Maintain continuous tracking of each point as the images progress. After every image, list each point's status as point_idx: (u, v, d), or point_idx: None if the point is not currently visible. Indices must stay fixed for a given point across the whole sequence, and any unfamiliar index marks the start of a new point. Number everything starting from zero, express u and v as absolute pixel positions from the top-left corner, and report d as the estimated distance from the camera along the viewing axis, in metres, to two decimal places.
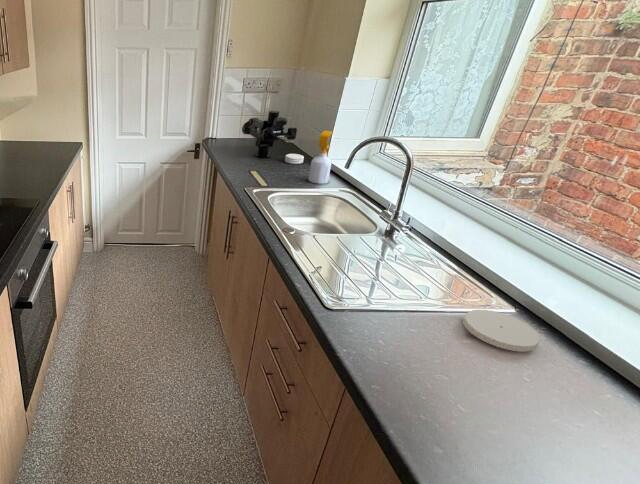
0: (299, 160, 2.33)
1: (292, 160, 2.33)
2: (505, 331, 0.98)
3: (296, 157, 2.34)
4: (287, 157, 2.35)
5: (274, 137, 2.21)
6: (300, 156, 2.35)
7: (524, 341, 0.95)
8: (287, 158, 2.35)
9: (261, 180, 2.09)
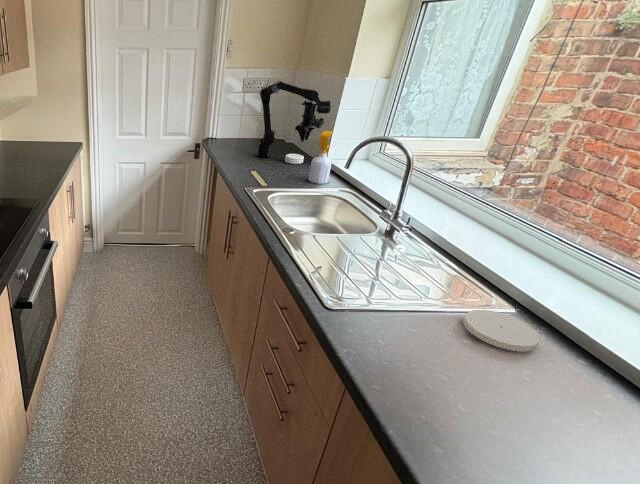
0: (299, 160, 2.33)
1: (292, 160, 2.33)
2: (505, 331, 0.98)
3: (296, 157, 2.34)
4: (287, 157, 2.35)
5: (302, 138, 2.37)
6: (300, 156, 2.35)
7: (524, 341, 0.95)
8: (287, 158, 2.35)
9: (261, 180, 2.09)
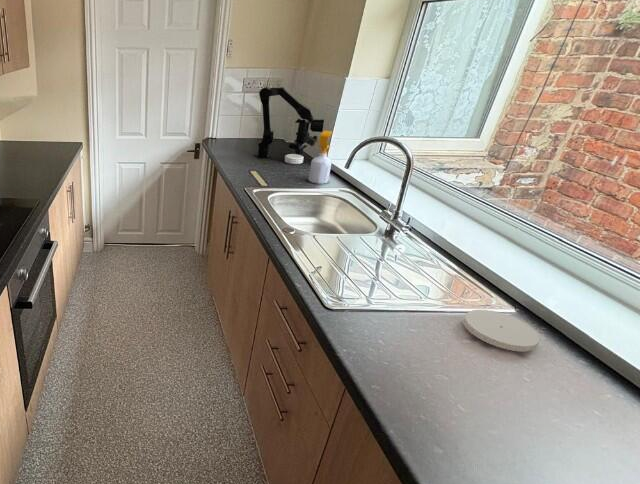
0: (299, 160, 2.32)
1: (292, 160, 2.33)
2: (505, 331, 0.98)
3: (296, 157, 2.34)
4: (287, 157, 2.35)
5: (298, 154, 2.40)
6: (300, 156, 2.35)
7: (524, 341, 0.95)
8: (287, 158, 2.35)
9: (261, 180, 2.09)
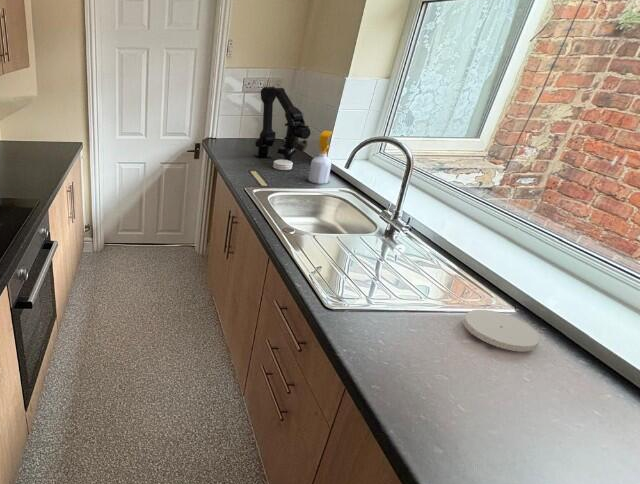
0: (287, 166, 2.22)
1: (280, 166, 2.23)
2: (505, 331, 0.98)
3: (285, 163, 2.24)
4: (275, 163, 2.25)
5: (287, 159, 2.30)
6: (289, 162, 2.25)
7: (524, 341, 0.95)
8: (275, 164, 2.25)
9: (261, 180, 2.09)
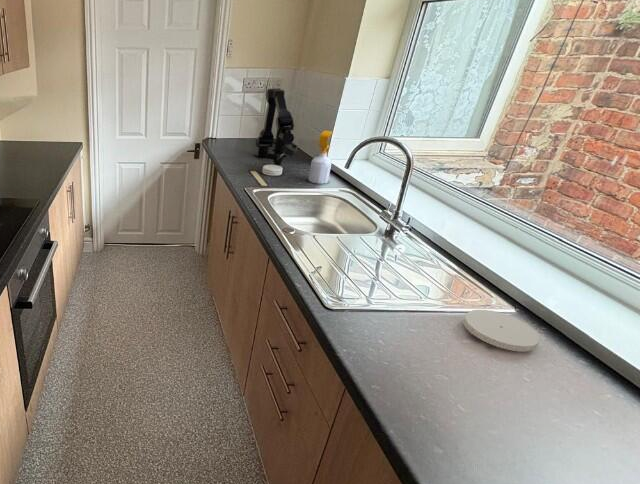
0: (277, 172, 2.14)
1: (270, 172, 2.15)
2: (505, 331, 0.98)
3: (274, 168, 2.15)
4: (264, 168, 2.16)
5: (277, 164, 2.21)
6: (278, 167, 2.17)
7: (524, 341, 0.95)
8: (264, 169, 2.17)
9: (261, 180, 2.09)
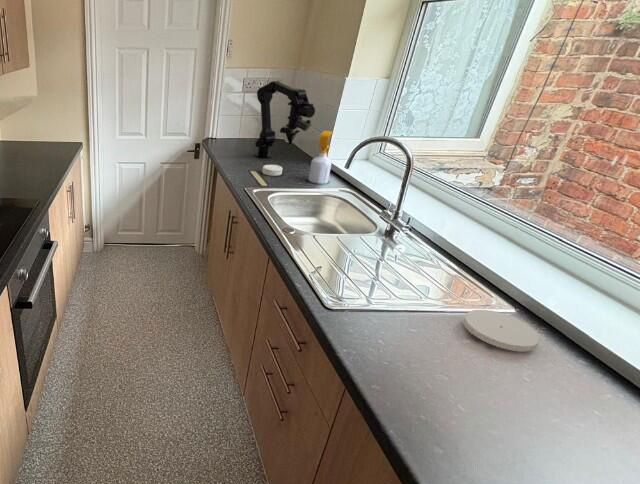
0: (277, 172, 2.14)
1: (270, 172, 2.15)
2: (505, 331, 0.98)
3: (274, 168, 2.15)
4: (264, 168, 2.16)
5: (290, 140, 2.26)
6: (278, 167, 2.17)
7: (524, 341, 0.95)
8: (264, 169, 2.17)
9: (261, 180, 2.09)
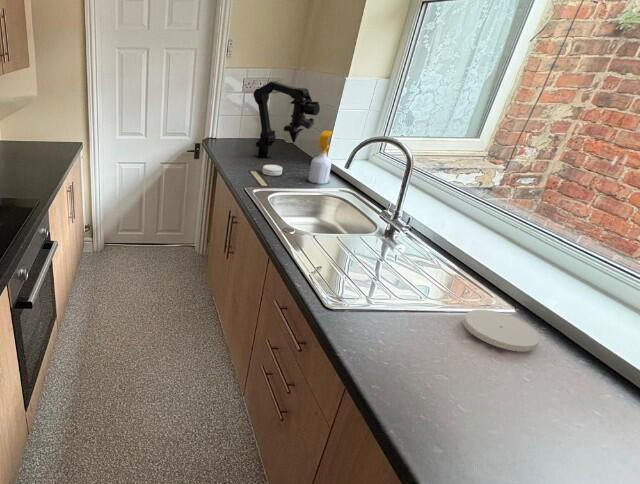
0: (277, 172, 2.14)
1: (270, 172, 2.15)
2: (505, 331, 0.98)
3: (274, 168, 2.15)
4: (264, 168, 2.16)
5: (293, 138, 2.29)
6: (278, 167, 2.17)
7: (524, 341, 0.95)
8: (264, 169, 2.17)
9: (261, 180, 2.09)
